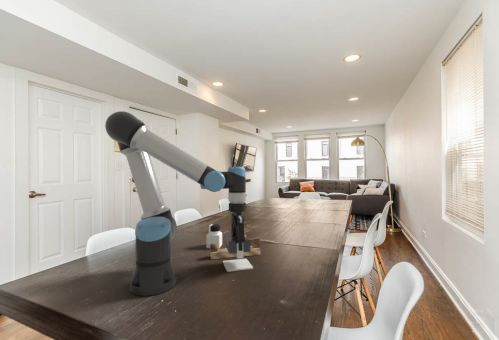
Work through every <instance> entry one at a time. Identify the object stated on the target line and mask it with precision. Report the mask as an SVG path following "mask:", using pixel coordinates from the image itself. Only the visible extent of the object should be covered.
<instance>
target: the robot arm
mask: <svg viewBox="0 0 499 340" xmlns="http://www.w3.org/2000/svg"><path fill="white" fill-rule="evenodd" d="M104 127H105V131H106V133H107V135H108V136H109V137H110V139H112V140H113V141H115V142H116V143H117V145H118V148H119V151H120V152H119V153H120V154H122V155H124V156H125V157H126V160H127V162H128V167H129V170H130V173H131V176H132V180H133V183H134V187H135V189H136V194H137V195H138V199H139V203H140V206H141V209H142V211H143V213H142V215H141V217H140V220H139V221H138V222H137V224H136V225H135V232H134V235H135V266H134V270H133V273H132V276H131V279H130V284H129V292H130V293H131V294H133V295H136V296H141V297H143V296H144V297H146V296H147V297H148V296H154V295H155V296H156V295H159V294H162V293H165V292H167V291H169V290H171V289H172V288H173V287H174V286H175V285H176V283H177V282H176V280H177V279H176V274H175V270H174V268H173V265H172V261H171V257H172V255H171V254H172V253H171V247H172V246H171V245H172V244H171V243H172V241H173V239H174V238H175V236H176V235H177V231H178V229H177V228H178V224H177V221H176V220H175V218H174V216H173V214H172V211H171V208H170V207H168V206H166V205H165V201H164V197H163V195H162V191H161V189H160V188H161V187H160V185H159V182H158V178H157V176H156V172H155V169H154V165H153V161H152V159H151V157H152V158H155V159H156V160H157V161H159V162H161V163H162V164H164V165H166V166H167V167H170V168H171V169H173V170H175V171H176V172H178V173H180V174H182V176H183V175H184V176H185V177H186V178H188V179H190V180H192V181H194V182H196V183H197V184H199V185H200V189H202V190H207V191H210V192H212V193H217V192H220V191H221V190H223V189H224V190H227V189H228V194H227V195H228V198H227V199H228V202H229V203H228V212H230V213H231V229H230V230H231V233H230V234H231V236H237V242H236V243H237V257H236V260H237V259H244V256H243V242H245V236H244V234H245V217H244V216H243V215H242V214H243V213H245V212H246V211H247V204H246V203H247V202H246V199H247V196H248V195H247V193H246V191H247V189H246V187H247V186H246V183H247V182H246V181H247V178H246V176H247V175H246V169H245V167H244V166H229V167H228V168H227V171H218V170H216V169H214V168H212V167H211V166H209V165H208V164H206V163H205V162H203V161H201V160H200V159H198V158H196V157H194V156H193V155H191V154H190V153H188V152H186V151H184V150H182V149H181V148H180V147H178V146H176V145H174V144H173V143H171V142H169V141H168V140H166V139H165V138H162V137H161V136H159V135H157V134H156V133H155V132H152V131H150V130H149V128H148V125H146V124H145V123H144V121H142V120H140V119H139V118H137V116H135V115H133V114H132V113H130V112H128V111H123V110H120V111H115V112H113V113H111V114H110V115H109V116H107V118H106V120H105V124H104ZM240 239H241V240H240Z"/></svg>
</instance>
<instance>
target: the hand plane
mask: <svg viewBox="0 0 499 340" xmlns="http://www.w3.org/2000/svg"><path fill="white" fill-rule="evenodd" d="M260 239H261V238H260V237H252V239H251V240H252V241H251V242H252V245H250V252H243V257H249V256H250V257H251V256H257V255H258V256H260V255H261V241H260ZM209 251H210V252H209V255H210V256H209V257H210V260H218V259H229V258H237V253H230V254H229V252H228V250H227V249H226V247H225V248H219V249H218V244H210V248H209Z"/></svg>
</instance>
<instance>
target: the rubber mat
mask: <svg viewBox="0 0 499 340" xmlns="http://www.w3.org/2000/svg"><path fill="white" fill-rule="evenodd" d="M222 263H223V266H224V268H225V270H226V272H228V273H229V272H237V271H248V270H254V266H253V265H252V264H251V263H250V261H249V260H248V259H247V258H239V259H237V258H236V259H228V260H222Z"/></svg>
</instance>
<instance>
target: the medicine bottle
mask: <svg viewBox="0 0 499 340" xmlns="http://www.w3.org/2000/svg"><path fill="white" fill-rule="evenodd" d="M210 244H218V249H221V247H222V245H223V232H222V231H221V225H220V224H219V223H211V224H209V225H208V233H207V234H206V249H210Z"/></svg>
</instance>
